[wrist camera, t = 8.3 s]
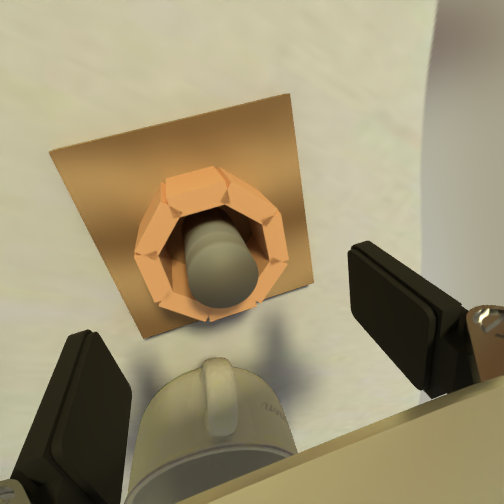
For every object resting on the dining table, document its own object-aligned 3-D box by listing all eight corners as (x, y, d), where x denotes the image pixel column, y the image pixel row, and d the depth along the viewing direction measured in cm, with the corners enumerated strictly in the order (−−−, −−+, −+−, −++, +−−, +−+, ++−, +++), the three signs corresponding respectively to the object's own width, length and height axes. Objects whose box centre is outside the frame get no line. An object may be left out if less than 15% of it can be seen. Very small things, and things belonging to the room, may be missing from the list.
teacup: (252, 436, 29) (280, 543, 22) (127, 445, 25) (112, 578, 18) (297, 312, 23) (353, 402, 17) (148, 302, 20) (139, 411, 13)
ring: (123, 190, 16) (113, 212, 13) (252, 155, 17) (273, 167, 14) (168, 297, 19) (169, 335, 16) (274, 263, 20) (294, 293, 17)
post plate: (53, 149, 15) (-12, 178, 9) (284, 93, 16) (345, 90, 11) (144, 330, 21) (136, 415, 15) (309, 277, 22) (357, 335, 17)
